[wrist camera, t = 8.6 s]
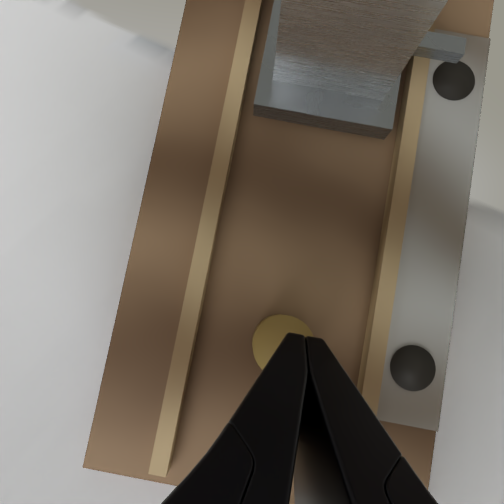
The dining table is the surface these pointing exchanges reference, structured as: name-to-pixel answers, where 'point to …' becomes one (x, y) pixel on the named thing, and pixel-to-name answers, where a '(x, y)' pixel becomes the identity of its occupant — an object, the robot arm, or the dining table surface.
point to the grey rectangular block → (345, 60)
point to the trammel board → (288, 247)
